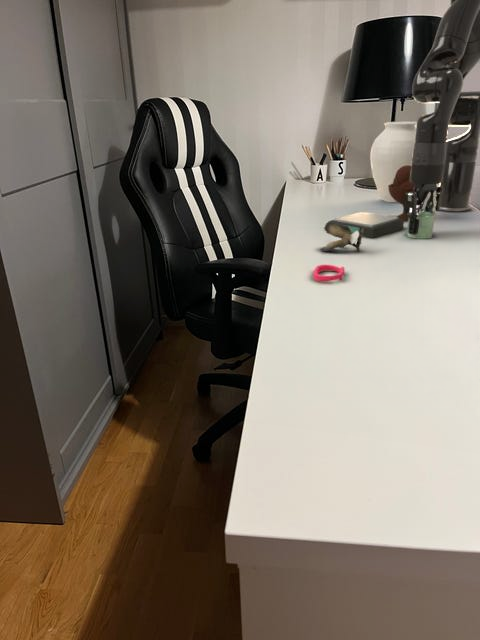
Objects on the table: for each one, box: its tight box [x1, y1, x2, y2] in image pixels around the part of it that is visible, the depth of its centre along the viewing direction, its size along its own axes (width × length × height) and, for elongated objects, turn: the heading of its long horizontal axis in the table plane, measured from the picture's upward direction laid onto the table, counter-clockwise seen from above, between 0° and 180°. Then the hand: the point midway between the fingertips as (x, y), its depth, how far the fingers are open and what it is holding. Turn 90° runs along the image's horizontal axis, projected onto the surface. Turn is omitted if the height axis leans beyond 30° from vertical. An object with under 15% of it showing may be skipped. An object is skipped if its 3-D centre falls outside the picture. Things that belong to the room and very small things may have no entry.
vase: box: [369, 121, 417, 203], centre depth 167 cm, size 18×18×25 cm
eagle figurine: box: [319, 219, 364, 253], centre depth 114 cm, size 8×7×9 cm
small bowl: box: [406, 211, 436, 240], centre depth 125 cm, size 6×6×6 cm
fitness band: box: [312, 264, 345, 283], centre depth 98 cm, size 8×6×2 cm
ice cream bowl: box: [388, 165, 414, 222], centre depth 141 cm, size 11×11×15 cm
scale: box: [330, 211, 405, 239], centre depth 133 cm, size 14×14×3 cm
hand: (420, 231), depth 125 cm, fingers closed on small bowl, 6 cm apart
